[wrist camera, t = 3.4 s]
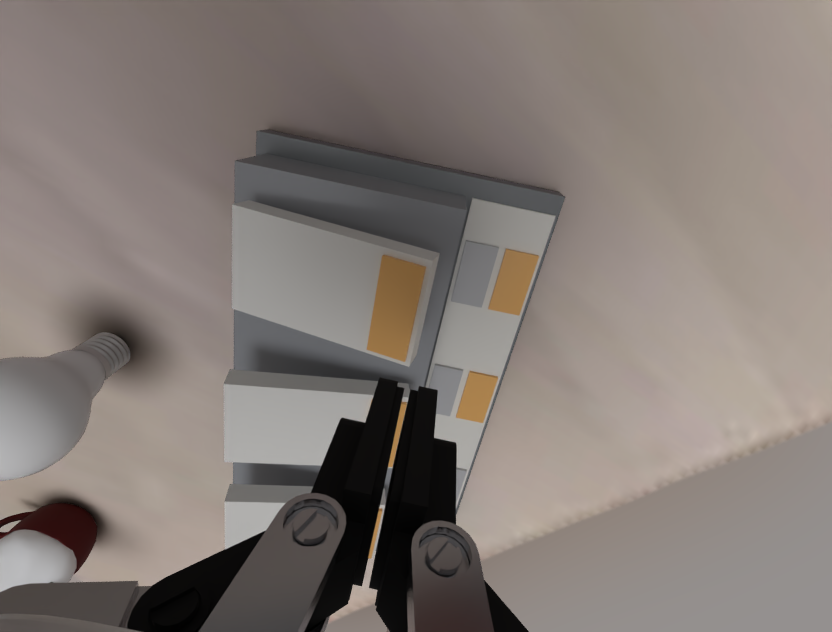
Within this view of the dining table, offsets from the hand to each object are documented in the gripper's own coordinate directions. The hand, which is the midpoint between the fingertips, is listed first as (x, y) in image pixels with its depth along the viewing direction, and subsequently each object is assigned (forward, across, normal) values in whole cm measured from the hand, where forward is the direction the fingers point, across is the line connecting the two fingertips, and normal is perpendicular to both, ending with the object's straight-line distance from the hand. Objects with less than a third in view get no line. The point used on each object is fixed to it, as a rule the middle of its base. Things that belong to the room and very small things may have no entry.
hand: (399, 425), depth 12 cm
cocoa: (+15, +26, +30) cm, 43 cm away
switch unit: (+15, +2, +8) cm, 17 cm away
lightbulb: (+15, +20, +11) cm, 27 cm away
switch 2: (+9, +4, +8) cm, 12 cm away
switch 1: (+8, +4, 0) cm, 9 cm away
